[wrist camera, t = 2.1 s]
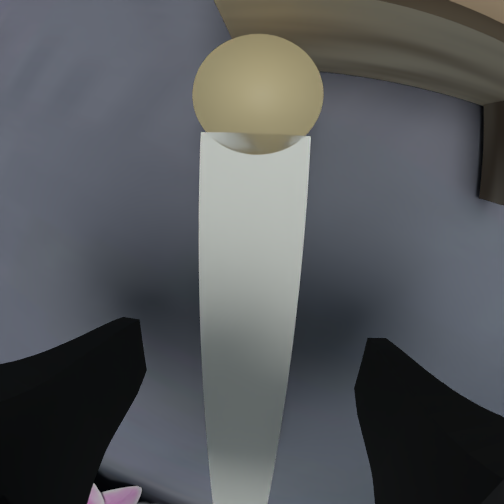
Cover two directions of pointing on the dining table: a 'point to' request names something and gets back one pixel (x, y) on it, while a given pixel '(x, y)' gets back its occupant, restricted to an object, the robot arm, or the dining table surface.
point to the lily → (115, 495)
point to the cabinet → (399, 50)
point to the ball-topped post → (251, 248)
